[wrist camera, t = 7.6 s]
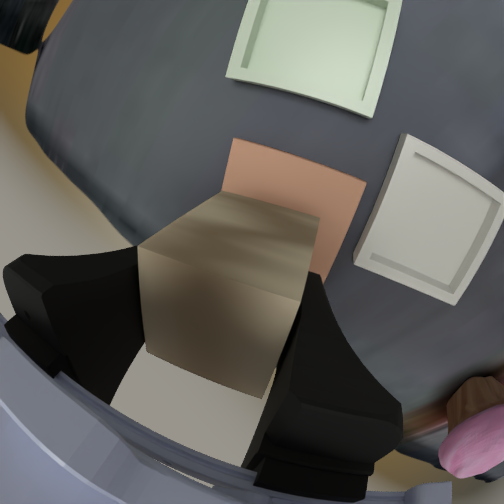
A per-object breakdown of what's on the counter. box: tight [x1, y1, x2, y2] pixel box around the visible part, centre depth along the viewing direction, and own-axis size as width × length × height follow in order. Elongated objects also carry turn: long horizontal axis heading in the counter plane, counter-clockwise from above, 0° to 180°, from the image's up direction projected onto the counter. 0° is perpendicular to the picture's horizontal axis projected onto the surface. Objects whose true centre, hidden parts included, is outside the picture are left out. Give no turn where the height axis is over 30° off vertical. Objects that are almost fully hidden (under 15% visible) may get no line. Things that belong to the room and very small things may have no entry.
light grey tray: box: [353, 133, 504, 306], centre depth 13 cm, size 8×8×2 cm
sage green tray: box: [226, 0, 402, 119], centre depth 11 cm, size 8×8×2 cm
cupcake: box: [439, 376, 504, 478], centre depth 14 cm, size 9×9×10 cm
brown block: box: [138, 191, 320, 399], centre depth 10 cm, size 4×4×6 cm
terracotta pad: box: [221, 138, 367, 284], centre depth 17 cm, size 8×8×1 cm
